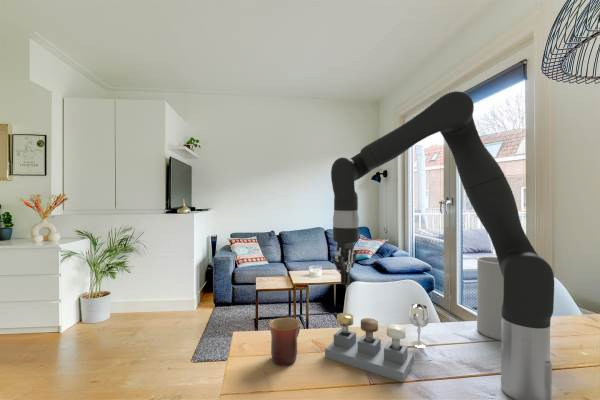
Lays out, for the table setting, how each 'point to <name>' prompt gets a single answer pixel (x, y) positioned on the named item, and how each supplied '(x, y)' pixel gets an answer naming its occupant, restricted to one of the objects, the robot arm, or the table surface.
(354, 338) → the grey key socket base
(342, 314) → the gold faceted knob
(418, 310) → the wineglass
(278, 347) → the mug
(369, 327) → the walnut key
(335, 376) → the table surface
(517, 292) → the robot arm
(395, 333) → the cream key
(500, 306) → the cylinder vase
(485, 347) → the table surface
